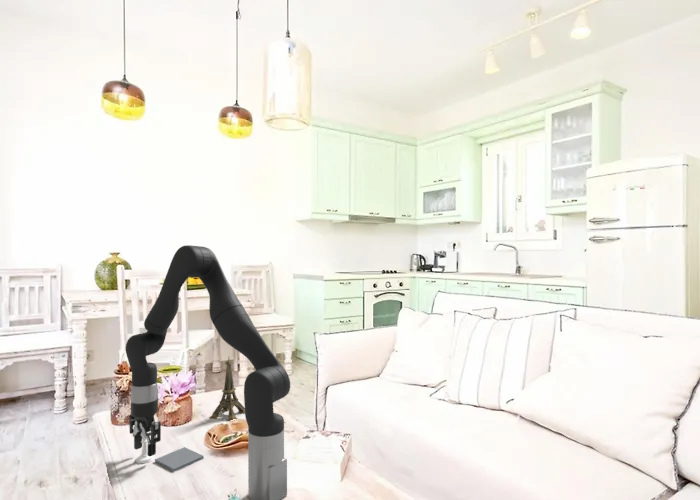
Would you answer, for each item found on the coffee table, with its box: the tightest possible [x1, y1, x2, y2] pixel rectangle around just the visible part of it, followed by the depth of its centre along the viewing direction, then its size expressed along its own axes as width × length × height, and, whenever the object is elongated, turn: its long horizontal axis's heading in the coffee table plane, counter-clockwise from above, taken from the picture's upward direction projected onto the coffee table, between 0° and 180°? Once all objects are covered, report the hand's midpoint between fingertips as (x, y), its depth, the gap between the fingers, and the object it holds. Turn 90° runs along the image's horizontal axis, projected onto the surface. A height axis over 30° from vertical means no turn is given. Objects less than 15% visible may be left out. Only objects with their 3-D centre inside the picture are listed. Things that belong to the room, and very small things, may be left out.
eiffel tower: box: [208, 357, 245, 422], centre depth 170 cm, size 11×11×25 cm
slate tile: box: [154, 446, 205, 473], centre depth 134 cm, size 10×10×1 cm
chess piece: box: [135, 432, 155, 464], centre depth 134 cm, size 5×5×10 cm
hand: (144, 451), depth 134 cm, fingers open, 7 cm apart
